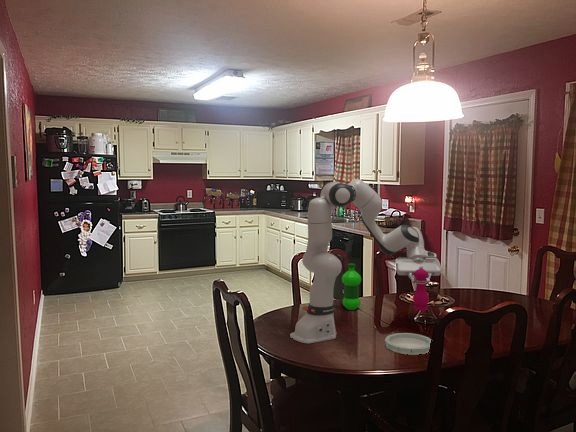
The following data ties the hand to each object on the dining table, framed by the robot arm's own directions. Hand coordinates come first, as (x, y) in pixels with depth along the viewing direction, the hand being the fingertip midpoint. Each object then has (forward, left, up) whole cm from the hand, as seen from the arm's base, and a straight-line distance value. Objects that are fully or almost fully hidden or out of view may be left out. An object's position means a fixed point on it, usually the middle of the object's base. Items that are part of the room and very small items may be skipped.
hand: (420, 282), depth 222 cm
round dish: (-15, -6, -25) cm, 30 cm away
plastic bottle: (+6, +51, -25) cm, 57 cm away
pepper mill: (0, 0, -13) cm, 13 cm away
